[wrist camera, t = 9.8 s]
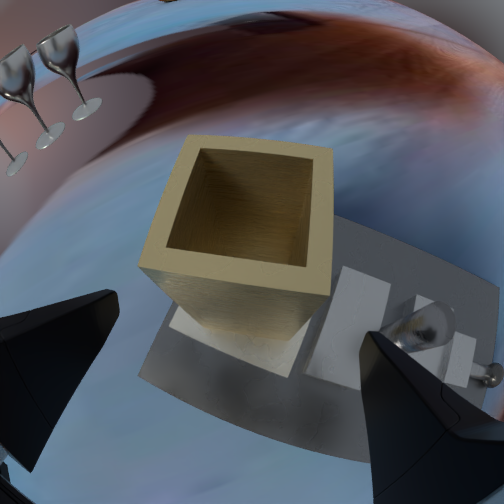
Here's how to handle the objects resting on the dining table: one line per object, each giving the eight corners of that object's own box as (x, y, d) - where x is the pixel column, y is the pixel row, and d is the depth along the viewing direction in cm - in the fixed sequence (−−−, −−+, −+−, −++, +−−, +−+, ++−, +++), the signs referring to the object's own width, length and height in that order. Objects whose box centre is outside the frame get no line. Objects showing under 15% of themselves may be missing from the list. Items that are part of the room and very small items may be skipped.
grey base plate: (456, 467, 10) (520, 483, 4) (144, 376, 15) (77, 371, 8) (496, 294, 16) (554, 260, 9) (238, 190, 20) (231, 113, 13)
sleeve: (288, 341, 14) (330, 295, 6) (203, 327, 15) (137, 266, 6) (298, 261, 16) (332, 148, 8) (220, 251, 17) (188, 134, 8)
